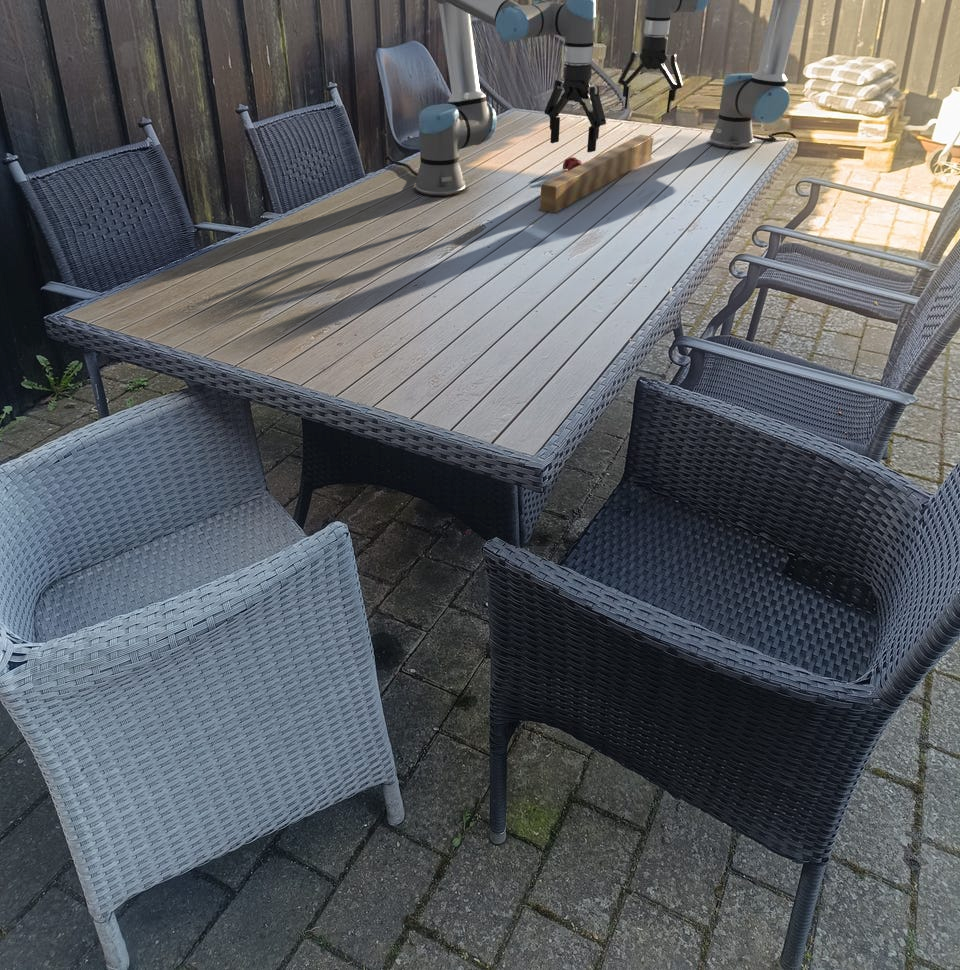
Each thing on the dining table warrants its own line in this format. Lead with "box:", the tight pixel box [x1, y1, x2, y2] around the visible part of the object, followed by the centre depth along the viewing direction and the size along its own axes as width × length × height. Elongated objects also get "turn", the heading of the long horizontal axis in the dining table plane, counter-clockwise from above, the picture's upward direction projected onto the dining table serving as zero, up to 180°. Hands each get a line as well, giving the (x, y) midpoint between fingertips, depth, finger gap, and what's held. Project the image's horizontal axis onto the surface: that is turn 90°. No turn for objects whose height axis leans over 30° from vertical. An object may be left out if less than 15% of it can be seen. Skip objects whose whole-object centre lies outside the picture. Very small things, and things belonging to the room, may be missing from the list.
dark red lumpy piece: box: [562, 156, 583, 171], centre depth 273 cm, size 6×4×8 cm
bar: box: [539, 134, 654, 214], centre depth 263 cm, size 68×5×7 cm, turn 147°
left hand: (572, 147), depth 236 cm, fingers open, 13 cm apart
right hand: (647, 109), depth 270 cm, fingers open, 13 cm apart
